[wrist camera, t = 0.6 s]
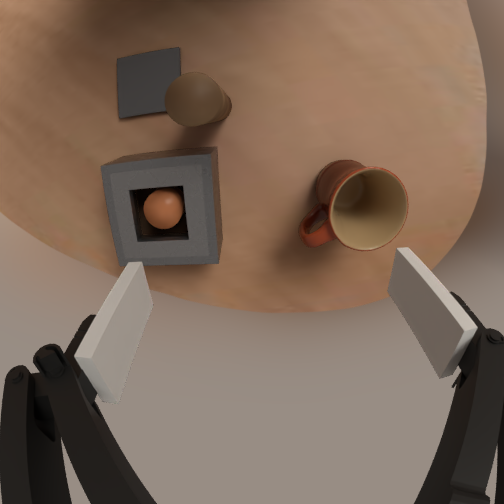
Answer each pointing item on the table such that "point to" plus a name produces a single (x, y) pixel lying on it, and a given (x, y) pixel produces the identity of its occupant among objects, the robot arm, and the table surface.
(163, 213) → the orange round ball
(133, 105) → the coaster
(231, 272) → the table surface
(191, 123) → the brown cylinder
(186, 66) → the table surface
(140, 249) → the grey hollow block
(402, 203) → the mug
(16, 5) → the table surface
